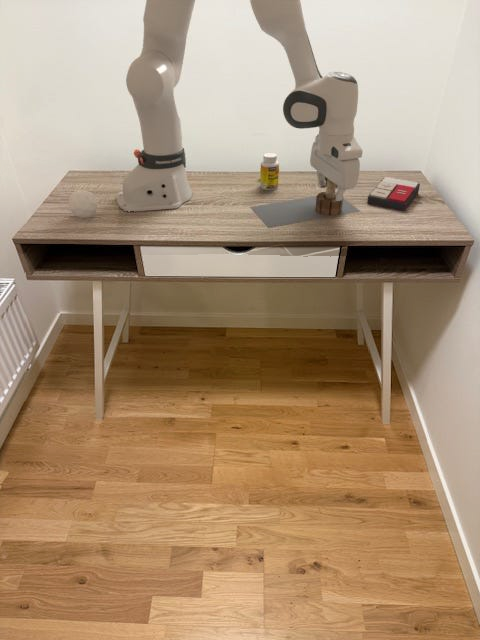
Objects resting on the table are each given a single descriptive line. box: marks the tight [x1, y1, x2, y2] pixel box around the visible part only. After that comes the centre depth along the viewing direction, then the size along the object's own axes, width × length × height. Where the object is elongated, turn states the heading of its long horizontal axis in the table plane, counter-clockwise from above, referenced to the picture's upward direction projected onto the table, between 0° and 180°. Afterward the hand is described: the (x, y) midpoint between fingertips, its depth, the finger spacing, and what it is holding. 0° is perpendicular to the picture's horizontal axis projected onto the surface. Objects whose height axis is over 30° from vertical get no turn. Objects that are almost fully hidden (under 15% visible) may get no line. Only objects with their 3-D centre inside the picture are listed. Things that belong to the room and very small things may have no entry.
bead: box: [315, 191, 343, 217], centre depth 135 cm, size 7×7×4 cm
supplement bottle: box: [259, 152, 280, 191], centre depth 148 cm, size 6×6×10 cm
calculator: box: [366, 176, 421, 212], centre depth 142 cm, size 11×4×15 cm
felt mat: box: [249, 195, 361, 228], centre depth 138 cm, size 28×14×1 cm, turn 110°
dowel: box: [325, 179, 337, 200], centre depth 134 cm, size 2×2×10 cm
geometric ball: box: [68, 189, 99, 220], centre depth 134 cm, size 8×8×8 cm
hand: (329, 193), depth 134 cm, fingers open, 8 cm apart
